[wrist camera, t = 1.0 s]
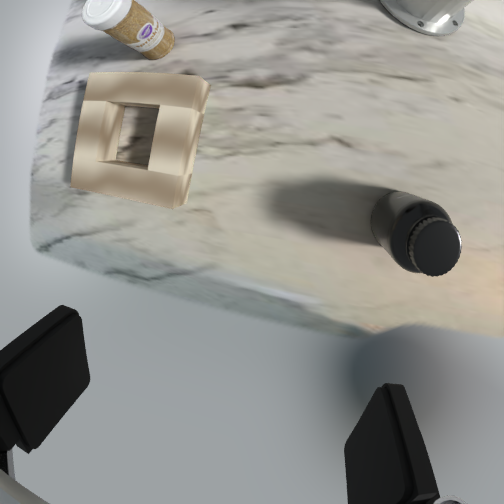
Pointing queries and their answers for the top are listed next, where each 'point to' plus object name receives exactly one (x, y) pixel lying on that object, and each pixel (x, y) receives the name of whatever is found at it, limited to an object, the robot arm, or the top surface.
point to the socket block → (164, 141)
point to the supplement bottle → (416, 233)
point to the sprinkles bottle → (129, 26)
